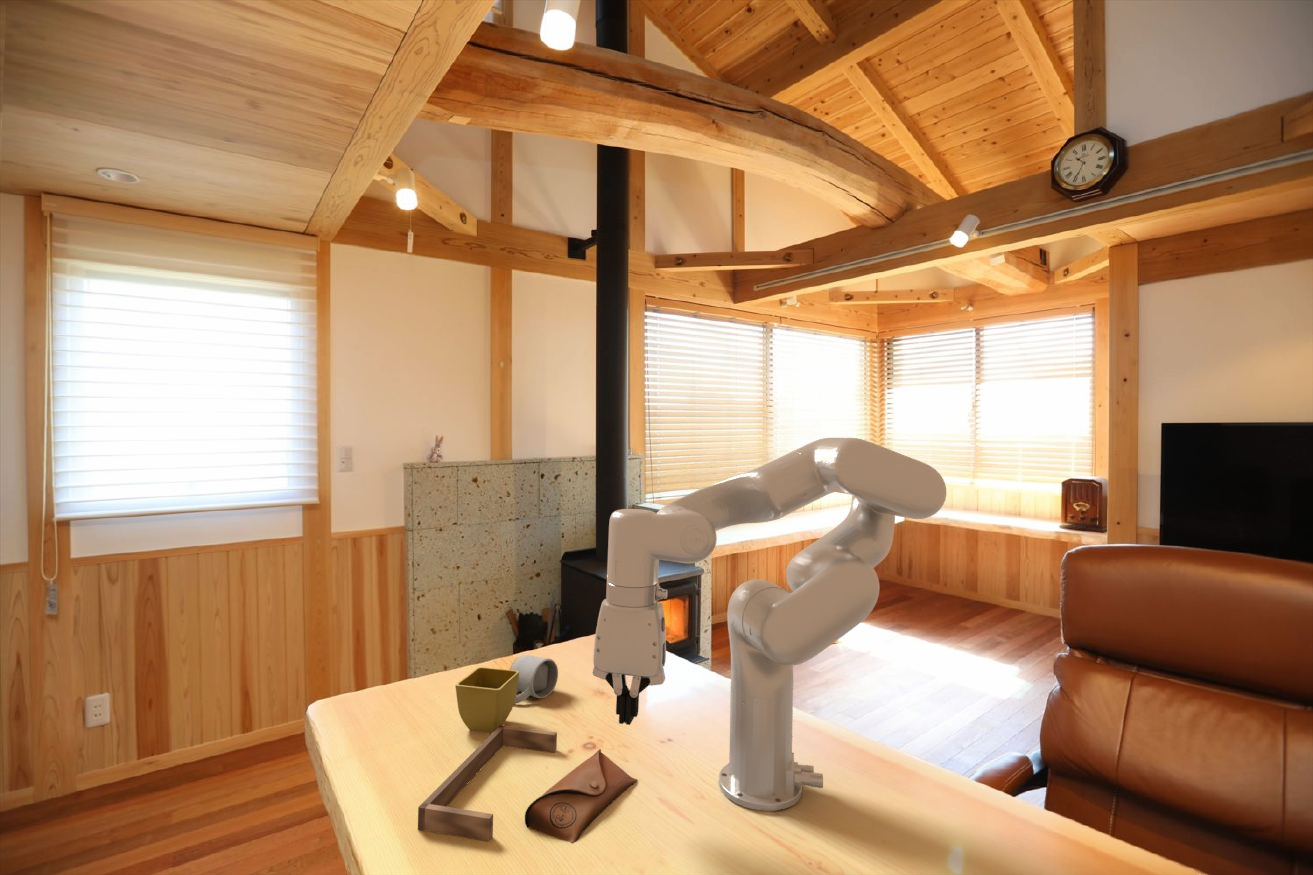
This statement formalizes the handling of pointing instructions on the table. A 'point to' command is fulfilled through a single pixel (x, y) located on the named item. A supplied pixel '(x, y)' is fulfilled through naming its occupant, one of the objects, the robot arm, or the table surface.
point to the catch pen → (465, 821)
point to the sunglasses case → (578, 798)
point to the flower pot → (486, 697)
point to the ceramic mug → (535, 676)
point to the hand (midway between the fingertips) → (626, 719)
